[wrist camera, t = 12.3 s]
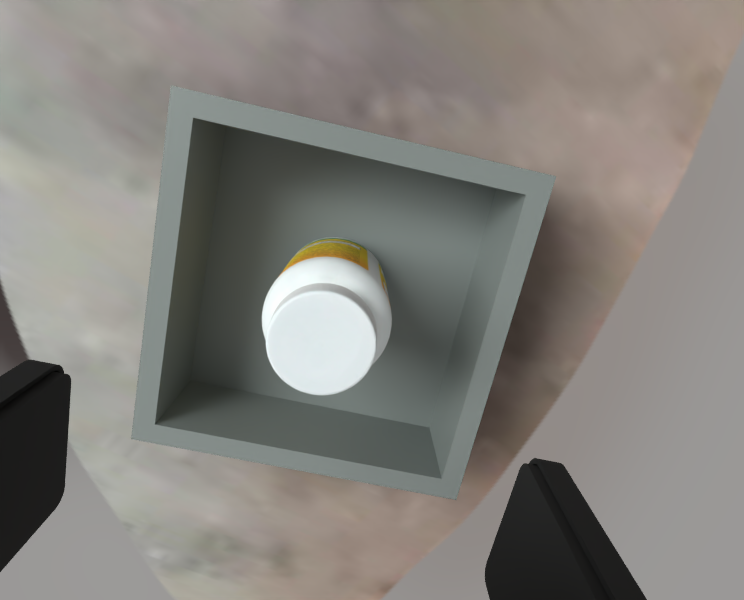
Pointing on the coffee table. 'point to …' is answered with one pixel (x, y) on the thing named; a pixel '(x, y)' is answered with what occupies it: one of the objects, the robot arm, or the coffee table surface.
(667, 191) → the coffee table surface
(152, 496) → the coffee table surface
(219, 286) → the tote
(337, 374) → the supplement bottle
